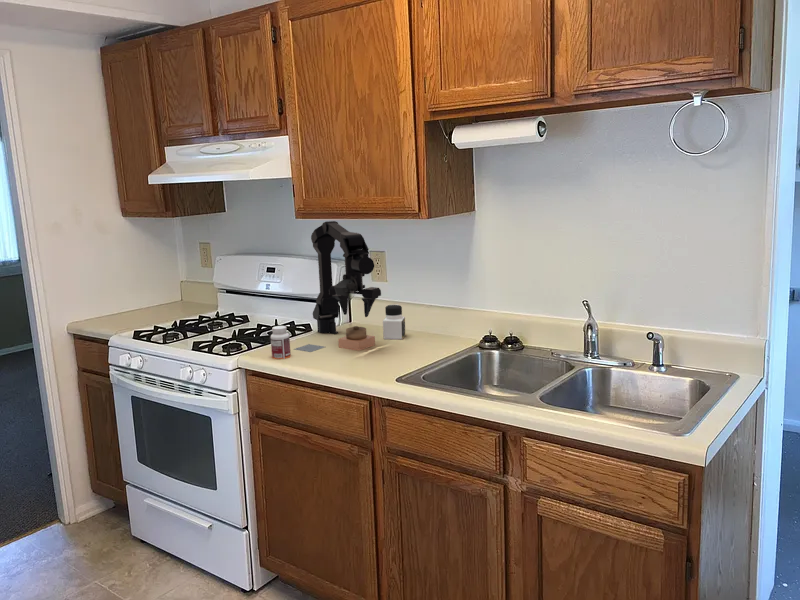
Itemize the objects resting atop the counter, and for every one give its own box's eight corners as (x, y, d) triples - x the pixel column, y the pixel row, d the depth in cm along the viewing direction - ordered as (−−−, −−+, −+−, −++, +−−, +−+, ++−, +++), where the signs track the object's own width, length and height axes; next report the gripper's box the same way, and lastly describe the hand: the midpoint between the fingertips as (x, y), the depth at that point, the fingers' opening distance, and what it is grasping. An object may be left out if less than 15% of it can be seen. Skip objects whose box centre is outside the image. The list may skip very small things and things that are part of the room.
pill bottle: (287, 355, 238) (285, 324, 236) (293, 360, 233) (291, 327, 231) (269, 358, 235) (267, 326, 233) (275, 363, 230) (273, 330, 228)
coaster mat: (293, 352, 243) (293, 349, 243) (308, 346, 249) (308, 344, 249) (310, 354, 239) (310, 352, 238) (326, 349, 245) (326, 346, 245)
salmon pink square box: (338, 350, 244) (338, 338, 243) (354, 344, 251) (354, 333, 250) (359, 353, 239) (358, 341, 238) (375, 347, 246) (374, 336, 245)
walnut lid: (342, 338, 243) (341, 327, 242) (354, 334, 249) (354, 323, 248) (358, 340, 239) (357, 330, 239) (370, 336, 245) (370, 325, 244)
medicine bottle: (402, 339, 256) (401, 307, 254) (383, 339, 257) (382, 307, 255) (405, 334, 263) (404, 303, 260) (386, 334, 264) (385, 303, 262)
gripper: (317, 272, 238) (319, 317, 241) (361, 275, 228) (363, 322, 231) (338, 268, 247) (340, 311, 250) (381, 271, 237) (382, 316, 240)
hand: (355, 315), depth 243 cm, fingers open, 9 cm apart
